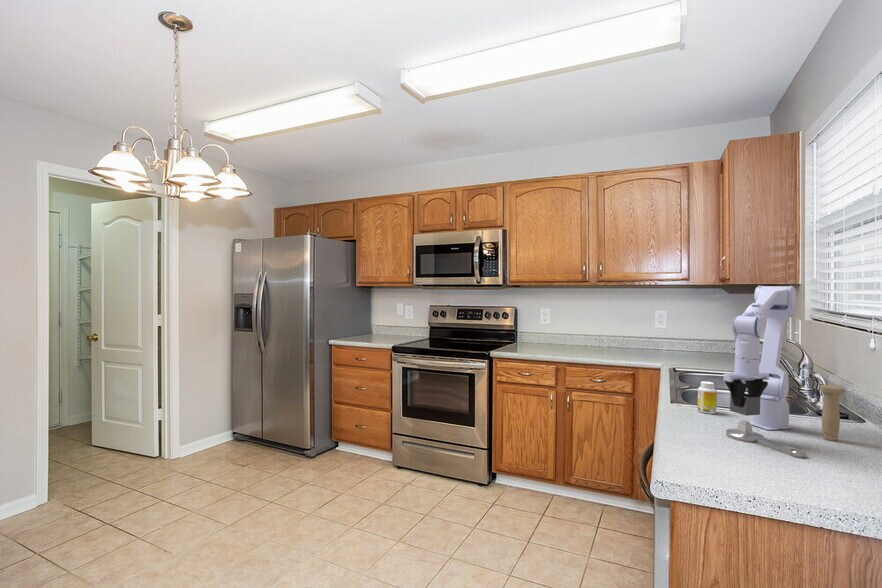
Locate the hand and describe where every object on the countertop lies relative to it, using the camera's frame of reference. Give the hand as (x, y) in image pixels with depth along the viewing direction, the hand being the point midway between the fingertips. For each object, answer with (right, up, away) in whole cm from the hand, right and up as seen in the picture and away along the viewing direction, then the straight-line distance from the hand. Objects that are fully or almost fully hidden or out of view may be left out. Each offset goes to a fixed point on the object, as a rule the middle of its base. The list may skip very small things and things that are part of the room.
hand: (745, 405), depth 127 cm
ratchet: (+1, -9, -5) cm, 11 cm away
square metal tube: (0, -2, 0) cm, 2 cm away
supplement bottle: (+5, -9, +26) cm, 28 cm away
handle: (+24, -10, 0) cm, 26 cm away
